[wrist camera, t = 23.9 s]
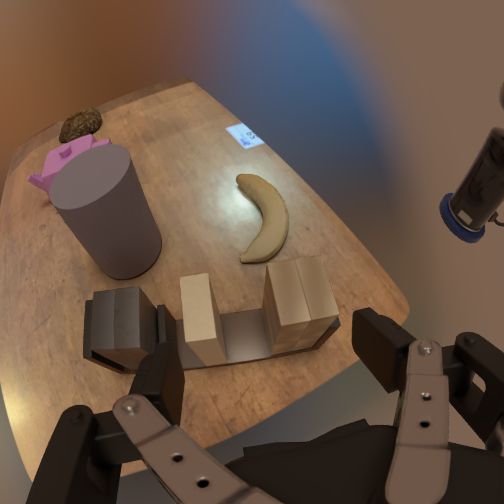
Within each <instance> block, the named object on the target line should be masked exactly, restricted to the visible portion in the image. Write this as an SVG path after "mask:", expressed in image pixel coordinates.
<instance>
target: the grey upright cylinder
mask: <svg viewBox="0 0 504 504" xmlns="http://www.w3.org/2000/svg"><path fill="white" fill-rule="evenodd" d="M50 200H51V202H52V204H53V205H54V207H55V208H56V210H57V211H58V213H59V214H60V215H61V217H62V218H63V220H64V221H65V223H66V224H67V225H68V227H69V228H70V229H71V231H72V232H73V234H74V235H75V236H76V238H77V239H78V240H79V242H80V243H81V244H82V245H83V247H84V248H85V249H86V251H87V252H88V253H89V254H90V256H91V257H92V258H93V259H94V261H95V262H96V263H97V264H98V266H99V267H100V268H101V269H102V270H103V271H104V273H105V274H107V275H108V276H110V277H112V278H115V279H129V278H132V277H135V276H137V275H139V274H141V273H143V272H144V271H146V270H147V269H148V268H149V267H150V266H151V265H152V264H153V263H154V262H155V260H156V259H157V257H158V255H159V253H160V249H161V235H160V232H159V230H158V228H157V225H156V223H155V220H154V218H153V215H152V213H151V210H150V208H149V205H148V203H147V200H146V198H145V195H144V193H143V190H142V187H141V185H140V182H139V179H138V177H137V174H136V171H135V168H134V166H133V163H132V160H131V157H130V154H129V152H128V151H127V150H126V148H124V147H122V146H120V145H116V144H105V145H100V146H96V147H93V148H90V149H88V150H86V151H84V152H82V153H80V154H79V155H77V156H75V157H74V158H73V159H71V160H70V161H69V162H68V163H67V164H66V165H64V166H63V167H62V169H61V170H60V171H59V172H58V173H57V175H56V177H55V178H54V180H53V182H52V184H51V187H50Z"/></svg>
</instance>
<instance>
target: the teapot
mask: <svg viewBox="0 0 504 504" xmlns="http://www.w3.org/2000/svg"><path fill="white" fill-rule="evenodd" d="M105 144H112V143H111V141H110V139H109V138H108V139H104V140H101V141H98V142H97V140H96V139H95V138H94V136H93V135H92V134H89V135H86V136H83V137H80V138H77V139H75V140H73V141H70V142H68V143H66V144H64V145H62V146H59V147H57V148H56V149H54V150H52V151H50V152H49V154H48V156H47V159H46V162H45V165H44V169H43V172H42V175H40V174H34V173H33V174H32V175H30V176H29V178H28V181H29V182H30V183H32V184H34V185H35V186H37V187H39V188H41V189H42V190H44V191H46V192H47V195H48V197H49V199H50V187H51V184H52V182H53V180H54V178H55V177H56V175H57V173H58V172H59V171H60V170H61V169H62V167H63V166H64V165H66V164H67V163H68V162H69V161H70V160H71V159H73V158H74V157H75V156H77V155H79V154H80V153H82V152H84V151H86V150H88V149H90V148H93V147H96V146H100V145H105ZM50 201H51V200H50Z"/></svg>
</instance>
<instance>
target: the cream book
mask: <svg viewBox="0 0 504 504" xmlns="http://www.w3.org/2000/svg"><path fill="white" fill-rule="evenodd" d="M180 286H181V300H182V312H183V323H184V333H185V342H186V343H187V344H188V345H189V347H190V348H191V349H192V350H193V351H194V352H195V354H196V355H197V356H198V357H199V358H200V359H201V360H202V362H203V363H204V364H205V365H206V366H211V365H219V364H226V363H228V362H227V356H226V350H225V344H224V338H223V331H222V325H221V318H220V314H219V311H218V307H217V304H216V300H215V297H214V293H213V289H212V286H211V282H210V278H209V275H208V273H204V274H198V275H191V276H184V277H180Z"/></svg>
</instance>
